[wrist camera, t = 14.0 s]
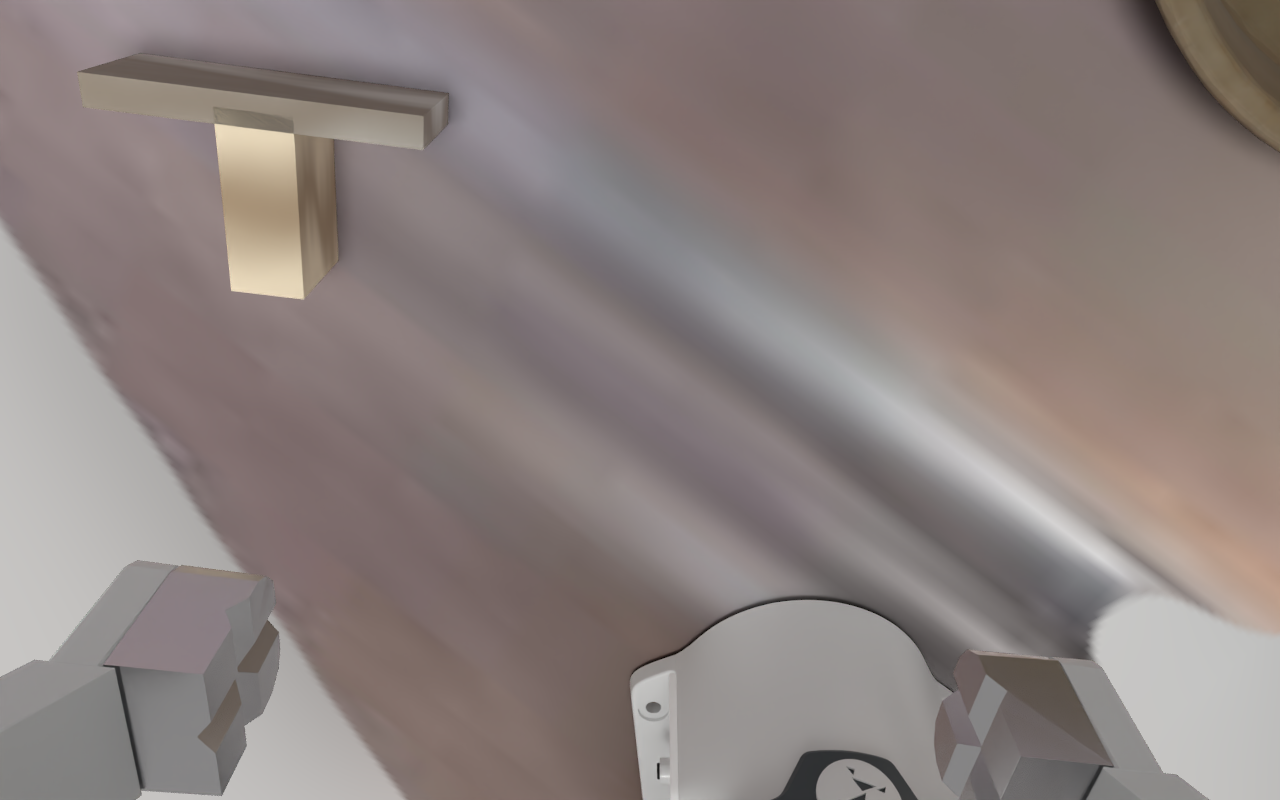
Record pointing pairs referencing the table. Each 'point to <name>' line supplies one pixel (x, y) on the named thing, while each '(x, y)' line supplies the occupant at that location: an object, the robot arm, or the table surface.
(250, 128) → the scraper
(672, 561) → the table surface
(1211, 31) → the plant saucer
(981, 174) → the table surface
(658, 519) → the table surface
